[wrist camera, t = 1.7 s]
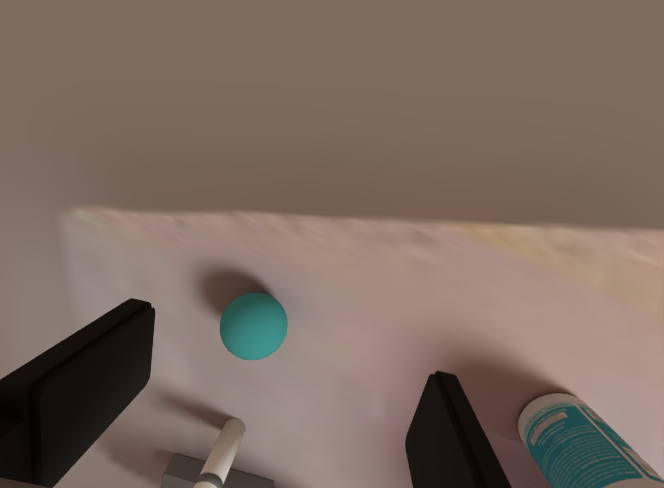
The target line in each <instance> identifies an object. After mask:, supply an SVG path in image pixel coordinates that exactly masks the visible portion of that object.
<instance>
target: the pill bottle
mask: <svg viewBox="0 0 664 488" xmlns="http://www.w3.org/2000/svg"><path fill="white" fill-rule="evenodd" d="M518 431H519V434H520V437H521V439H522V441H523V443H524V444H525V446H526V447H527V449H528V451H529V452H530V454H531V455H532V457H533V458H534V460H535V461H536V463H537V465H538V466H539V468H540V469H541V471H542V472H543V474H544V476H545V477H546V479H547V480H548V482H549V483H550V485H551V486H552V488H664V480H663V479H662V478H661V477H660V476H659V475H658V474H657V473H656V472H655V471H654V470H653V469H652V468H651V467H650V466H649V465H648V464H647V463H646V462H645V461H644V460H643V459H642V458H641V457H640V456H639V455H638V454H637V453H636V452H635V451H634V450H633V449H632V448H631V447H630V446H629V445H628V444H627V443H626V442H625V441H624V440H623V439H622V438H621V437H620V436H619V435H618V434H617V433H616V432H615V431H614V430H613V429H612V428H611V427H610V426H609V425H608V424H607V423H606V422H605V421H604V420H603V419H602V418H601V417H599V415H598V414H596V413H595V412H594V411H593V410H592V409H591V408H590V407H589V406H588V405H587V404H586V403H585V402H583V401H582V400H580V399H579V398H577V397H574V396H572V395H568V394H562V393H554V394H547V395H544V396H541V397H539V398H537V399H535V400H533V401H532V402H530V403H529V404H528V405H527V406H526V407H525V408H524V410H523V411H522V413H521V415H520V417H519V421H518Z"/></svg>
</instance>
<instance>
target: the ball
mask: <svg viewBox="0 0 664 488" xmlns="http://www.w3.org/2000/svg"><path fill="white" fill-rule="evenodd" d="M286 332H287V317H286V313H285V311H284V309H283V307H282V305H281V304H280V303H279V302H278V301H277V300H276V299H275V298H273V297H272V296H270V295H267V294H264V293H258V292H253V293H247V294H244V295H242V296H240V297H238V298H236V299H235V300H234V301H232V302H231V303H230V304H229V305H228V307H227V308H226V310H225V311H224V313H223V315H222V318H221V322H220V335H221V339H222V341H223V343H224V345H225V347H226V348H227V349H228V350H229V351H230V352H231V353H232V354H233V355H235V356H236V357H239V358H241V359H245V360H258V359H262V358H265V357H267V356H269V355H271V354H272V353H273V352H275V351H276V350H277V349H278V348H279V346H280V345H281V344H282V342H283V340H284V338H285V335H286Z"/></svg>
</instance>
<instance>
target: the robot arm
mask: <svg viewBox="0 0 664 488" xmlns="http://www.w3.org/2000/svg"><path fill="white" fill-rule="evenodd" d="M154 322H155V309H154V308H152V307H151V303H149V302H146V301H142V300H137V299H133V298H131V299H129V300H127V301H125V302H124V303H122V304H120V305H119V306H117V307H116V308H114V309H112V310H111V311H109V312H108V313H106V314H104V315H103V316H101V317H100V318H98V319H96V320H95V321H93V322H92V323H90V324H88V325H87V326H85V327H84V328H82V329H80V330H79V331H77V332H76V333H74V334H72V335H71V336H69V337H68V338H66V339H65V340H63V341H61V342H60V343H58V344H56V345H55V346H53V347H52V348H50V349H48V350H47V351H45V352H44V353H42V354H40V355H39V356H37V357H36V358H34V359H32V360H31V361H29V362H28V363H26V364H25V365H23V366H21V367H20V368H18V369H17V370H15V371H13V372H12V373H10V374H9V375H7V376H5V377H4V378H2V379H1V380H0V488H53V487H54V486H55V485H56V484H57V483H58V482H59V480H60V479H61V478H62V477H63V476H64V475H65V474H66V473H67V472H68V471H69V469H70V468H71V467H72V466H73V465H74V464H75V463H76V462H77V461H78V460H79V459H80V457H81V456H82V455H83V454H84V453H85V452H86V451H87V450H88V449H89V447H90V446H91V445H92V444H93V443H94V442H95V441H96V440H97V439H98V438H99V437H100V435H101V434H102V433H103V432H104V431H105V430H106V429H107V428H108V427H109V426H110V424H111V423H112V422H113V421H114V420H115V419H116V418H117V417H118V416H119V415H120V413H121V412H122V411H123V410H124V409H125V408H126V407H127V406H128V405H129V404H130V402H131V401H132V400H133V399H134V398H135V397H136V396H137V395H138V394H139V393H140V391H141V390H142V389H143V388H144V387H145V386H146V384H147V383H148V380H149V378H150V371H151V359H152V347H153V334H154ZM405 446H406V453H407V458H408V463H409V469H410V474H411V479H412V484H413V488H511V486H510V484H509V481H508V479H507V477H506V475H505V473H504V471H503V469H502V467H501V465H500V463H499V461H498V459H497V457H496V455H495V453H494V451H493V449H492V447H491V445H490V443H489V441H488V439H487V437H486V435H485V433H484V431H483V429H482V427H481V425H480V423H479V421H478V419H477V417H476V415H475V413H474V411H473V409H472V407H471V405H470V403H469V401H468V399H467V397H466V395H465V393H464V391H463V389H462V387H461V385H460V383H459V380H458V378H457V377H456V375H454V374H449V373H445V372H441V371H437V372H436V373H435V374H430V375H429V377H428V380H427V383H426V385H425V388H424V391H423V393H422V396H421V399H420V401H419V404H418V407H417V409H416V412H415V415H414V417H413V420H412V422H411V425H410V428H409V430H408V433H407V436H406V443H405Z"/></svg>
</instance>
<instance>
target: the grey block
mask: <svg viewBox="0 0 664 488" xmlns="http://www.w3.org/2000/svg"><path fill="white" fill-rule="evenodd" d="M205 463H206V462H204V461H200V460H197V459H193V458H190V457H186V456H183V455H179V454H176V455H175V456H174V458H173V459H172V461H171V463H170V464H169V466H168V468H167V469H166V471H165V472H164V474H163V480H162V485H161V488H193V486H194V484H195V482H196V480H197V478H198V476H199V475H200V473H201V471H202V469H203V467H204V465H205ZM273 484H274V481H272V480H268V479H265V478H261V477H257V476H254V475H250V474H247V473H243V472H240V471H236V470H233V469H229V472H228V474H227V477H226V479H225V482H224V484H223V488H273Z"/></svg>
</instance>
